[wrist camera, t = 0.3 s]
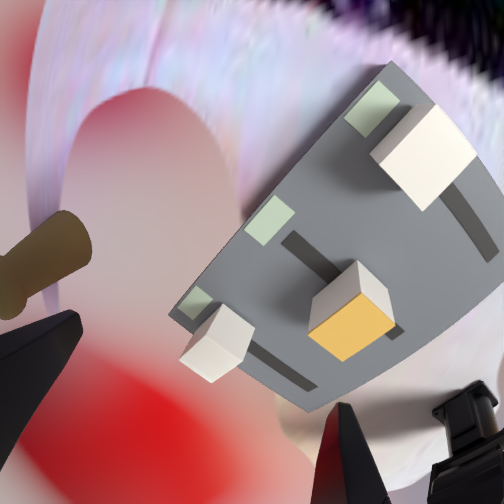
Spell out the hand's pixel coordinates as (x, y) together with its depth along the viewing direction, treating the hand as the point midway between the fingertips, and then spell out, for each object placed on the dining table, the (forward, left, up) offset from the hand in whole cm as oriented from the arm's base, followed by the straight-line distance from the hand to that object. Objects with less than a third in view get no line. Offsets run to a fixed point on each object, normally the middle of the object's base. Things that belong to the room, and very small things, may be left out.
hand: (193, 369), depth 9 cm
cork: (+13, +15, -13) cm, 24 cm away
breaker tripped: (-7, 0, -11) cm, 13 cm away
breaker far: (-3, +9, -11) cm, 14 cm away
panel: (-7, 0, -13) cm, 15 cm away
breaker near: (-3, -9, -11) cm, 15 cm away
